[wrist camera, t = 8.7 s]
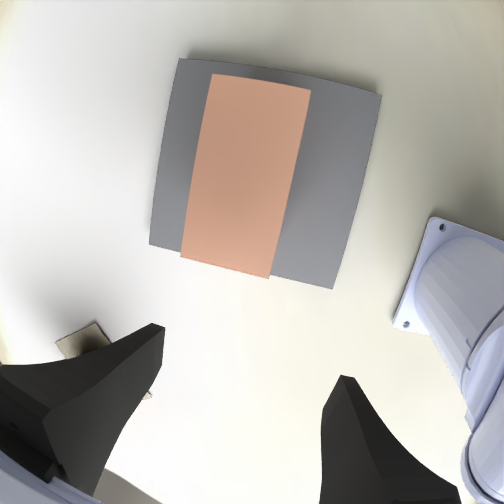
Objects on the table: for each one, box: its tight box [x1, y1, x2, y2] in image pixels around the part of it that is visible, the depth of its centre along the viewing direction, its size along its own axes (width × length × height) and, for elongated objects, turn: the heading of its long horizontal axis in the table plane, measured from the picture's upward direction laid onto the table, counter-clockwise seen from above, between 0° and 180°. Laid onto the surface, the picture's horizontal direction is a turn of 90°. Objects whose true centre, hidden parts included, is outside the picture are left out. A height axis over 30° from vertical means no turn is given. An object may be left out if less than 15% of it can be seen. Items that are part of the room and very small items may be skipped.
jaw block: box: [180, 74, 311, 279], centre depth 15 cm, size 4×8×6 cm, turn 169°
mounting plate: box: [149, 58, 382, 289], centre depth 18 cm, size 12×12×1 cm
